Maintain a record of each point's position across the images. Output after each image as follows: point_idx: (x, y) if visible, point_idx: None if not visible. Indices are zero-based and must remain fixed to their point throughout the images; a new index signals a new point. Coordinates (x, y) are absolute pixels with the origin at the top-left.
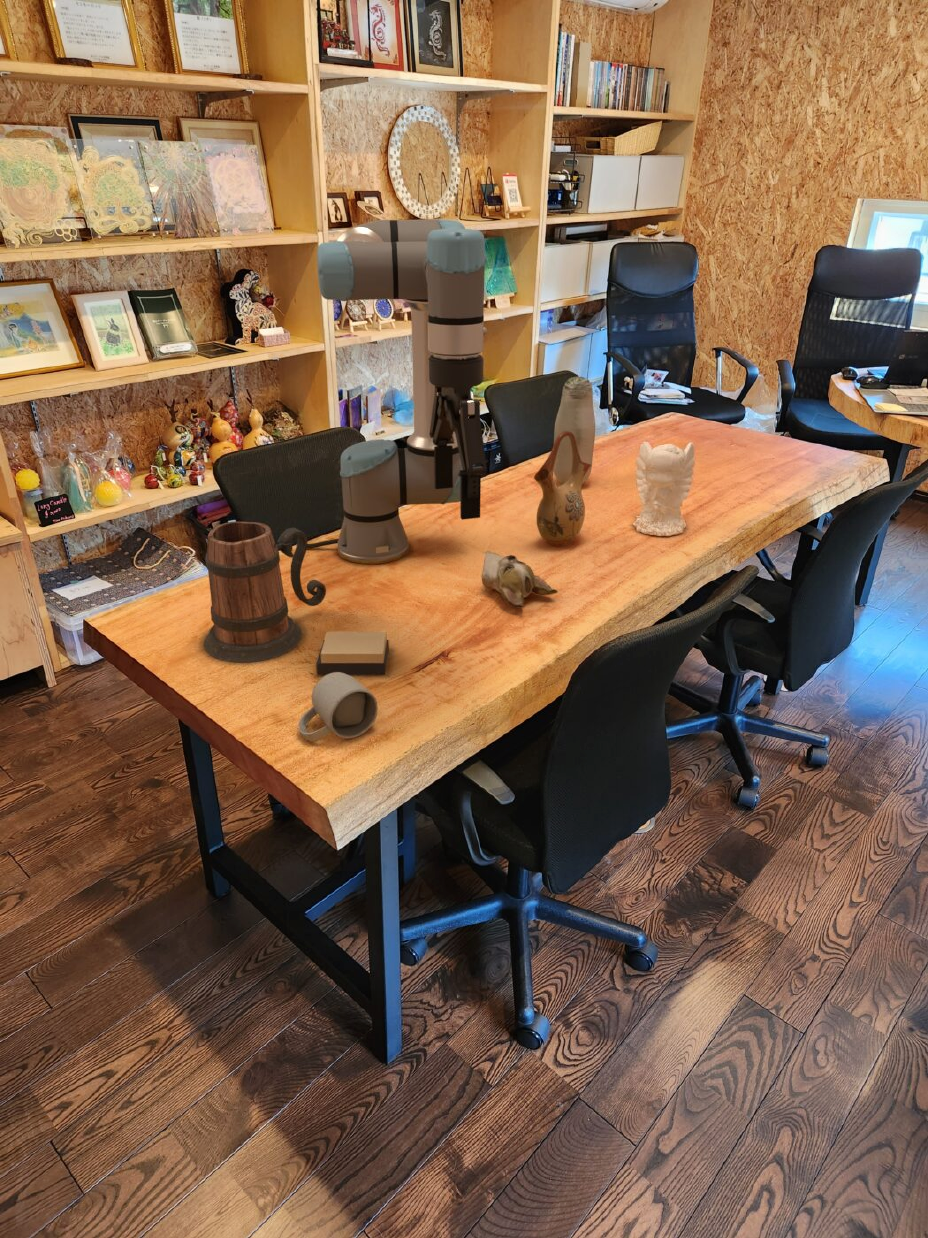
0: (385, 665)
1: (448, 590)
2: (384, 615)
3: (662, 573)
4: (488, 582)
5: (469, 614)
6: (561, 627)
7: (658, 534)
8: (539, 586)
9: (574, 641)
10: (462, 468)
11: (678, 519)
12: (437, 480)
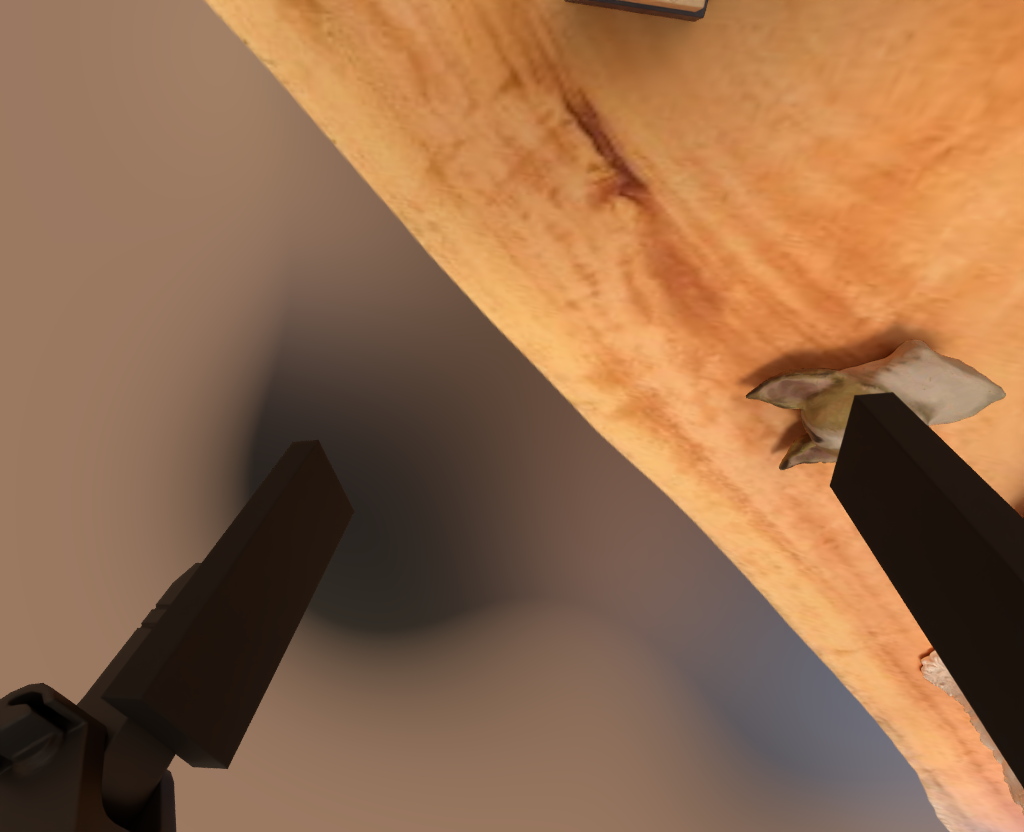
0: (585, 2)
1: (970, 247)
2: (927, 16)
3: (795, 609)
4: (897, 354)
5: (804, 279)
6: (671, 435)
7: (935, 652)
8: (807, 447)
9: (614, 441)
10: (82, 762)
11: (953, 692)
12: (885, 443)
